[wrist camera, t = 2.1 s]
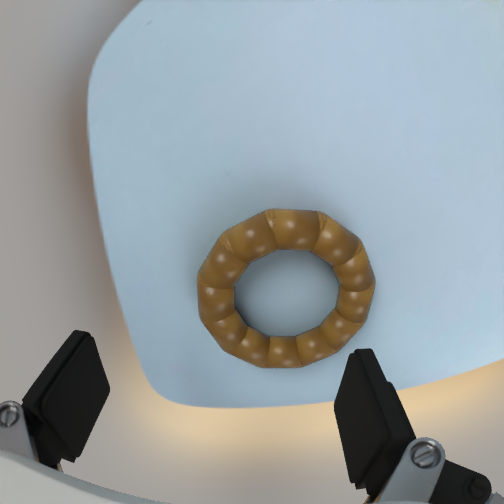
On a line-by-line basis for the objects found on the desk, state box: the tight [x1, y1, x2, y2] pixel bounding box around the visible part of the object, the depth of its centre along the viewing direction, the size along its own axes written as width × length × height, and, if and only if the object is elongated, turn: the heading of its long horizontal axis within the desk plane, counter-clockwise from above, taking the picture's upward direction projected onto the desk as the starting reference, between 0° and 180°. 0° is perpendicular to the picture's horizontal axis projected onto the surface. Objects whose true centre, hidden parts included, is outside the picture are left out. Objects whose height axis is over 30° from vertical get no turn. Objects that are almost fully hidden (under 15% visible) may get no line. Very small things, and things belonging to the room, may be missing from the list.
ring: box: [197, 209, 375, 368], centre depth 15 cm, size 9×9×2 cm
